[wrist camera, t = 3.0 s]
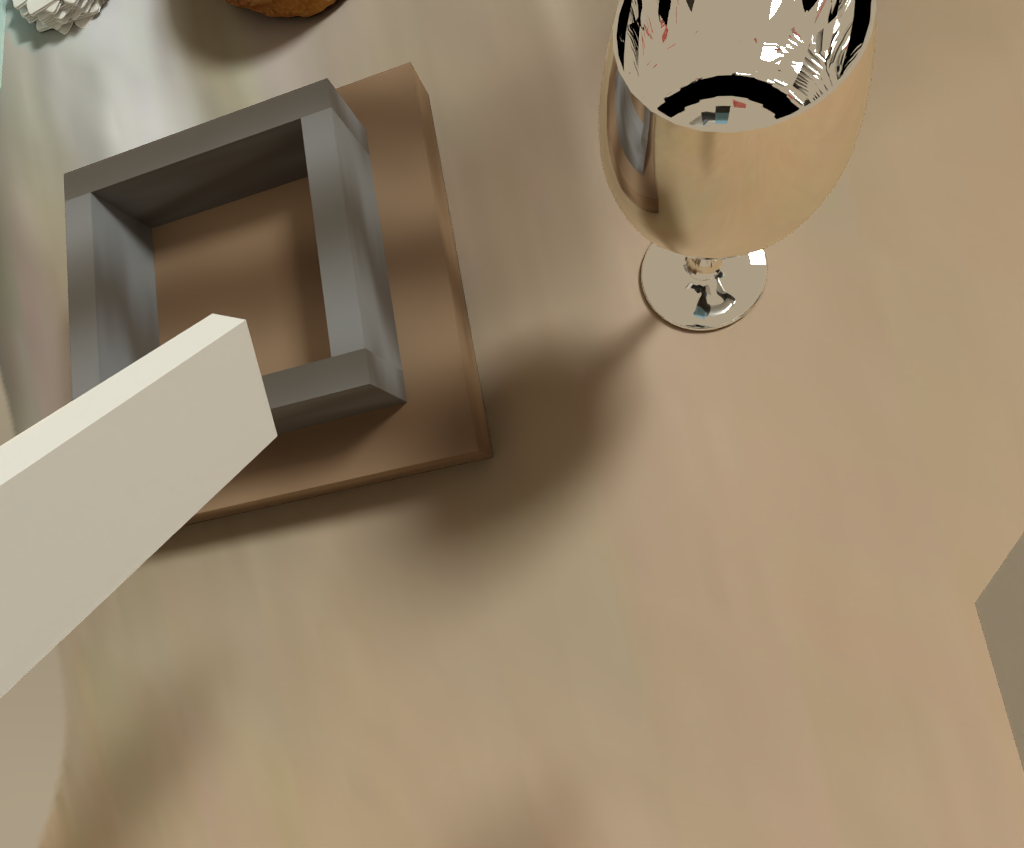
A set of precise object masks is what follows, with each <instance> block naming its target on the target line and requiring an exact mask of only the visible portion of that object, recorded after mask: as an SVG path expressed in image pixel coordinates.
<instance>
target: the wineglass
mask: <svg viewBox="0 0 1024 848" xmlns="http://www.w3.org/2000/svg"><path fill="white" fill-rule="evenodd" d="M876 11H877V8H876V0H620V1H619V4H618V6H617V10H616V14H615V18H614V22H613V26H612V30H611V34H610V38H609V42H608V47H607V52H606V58H605V63H604V70H603V76H602V83H601V92H600V104H599V121H598V124H599V142H600V154H601V160H602V165H603V170H604V173H605V177H606V180H607V183H608V185H609V188H610V190H611V192H612V194H613V197H614V199H615V201H616V203H617V204H618V206H619V208H620V209H621V211H622V213H623V214H624V216H625V217H626V219H627V220H628V222H629V223H630V224H631V225H632V226H633V227H634V228H635V229H636V230H637V231H638V232H639V233H640V234H641V235H643V236H644V237H646V238H647V239H648V240H650V241H651V242H652V243H651V245H650V246H649V248H648V250H647V252H646V254H645V257H644V260H643V263H642V268H641V283H642V290H643V292H644V295H645V297H646V300H647V302H648V303H649V304H650V306H651V307H652V309H653V310H654V311H655V312H656V313H657V314H658V315H659V316H660V317H661V318H662V319H664V320H666V321H667V322H669V323H671V324H672V325H675V326H677V327H680V328H683V329H688V330H693V331H709V330H715V329H719V328H722V327H725V326H727V325H730V324H732V323H734V322H736V321H737V320H739V319H740V318H742V317H744V316H745V315H746V314H747V313H748V312H749V311H750V310H751V309H752V308H753V307H754V306H755V305H756V303H757V302H758V300H759V298H760V297H761V295H762V293H763V291H764V288H765V285H766V281H767V273H768V265H767V259H766V254H765V252H764V249H765V248H767V247H769V246H771V245H773V244H775V243H776V242H778V241H780V240H782V239H784V238H785V237H787V236H788V235H790V234H791V233H792V232H794V231H795V230H796V229H797V228H799V227H800V226H801V225H802V224H803V223H804V222H806V221H807V220H808V219H809V218H810V217H811V216H812V215H813V213H814V212H815V211H816V210H817V209H818V208H819V207H820V206H821V205H822V203H823V202H824V201H825V199H826V198H827V197H828V195H829V194H830V193H831V191H832V190H833V189H834V187H835V186H836V184H837V182H838V181H839V179H840V177H841V176H842V174H843V172H844V170H845V168H846V166H847V164H848V162H849V159H850V157H851V155H852V152H853V150H854V148H855V145H856V141H857V138H858V135H859V131H860V128H861V125H862V121H863V118H864V115H865V111H866V107H867V101H868V95H869V88H870V81H871V75H872V68H873V60H874V53H875V35H876Z"/></svg>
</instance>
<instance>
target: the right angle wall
mask: <svg viewBox="0 0 1024 848" xmlns="http://www.w3.org/2000/svg"><path fill="white" fill-rule="evenodd" d="M12 1H13V6H14V8H16V10H18V9H19V10H20V14H21V16H23V18H25V19H26V20H28V23H32V22H34V21H36V29H37V30H38V31H39V32H42V31H45V30H48V29H52V28H54V29H55V30H57V31H59V32H60V33H62V34H63V35H66V34H67V33H68V32H69V30H70V29H71V27H72V25H73V23H75V25H77V26H78V27H80V28H81V29H85V28H86V27H87V26H88V24H89V23H90V22H91V20H92V19H93V18H94V16H95V15H96V14H98V13H99V12H100V9H101V7H102V5H103V4H104V3H105V1H106V0H12ZM5 15H6V0H0V90H1V77H2V61H3V46H4V30H5ZM74 21H75V22H74Z"/></svg>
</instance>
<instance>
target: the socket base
mask: <svg viewBox="0 0 1024 848" xmlns="http://www.w3.org/2000/svg"><path fill="white" fill-rule="evenodd" d="M64 191H65V218H66V245H67V271H68V298H69V325H70V352H71V378H72V401H73V400H75V399H76V398H78V397H80V396H81V395H83V394H84V393H86V392H88V391H89V390H91V389H92V388H94V387H96V386H97V385H99V384H100V383H102V382H104V381H105V380H107V379H108V378H110V377H112V376H113V375H115V374H116V373H118V372H120V371H121V370H123V369H124V368H126V367H128V366H129V365H131V364H132V363H134V362H136V361H137V360H139V359H140V358H142V357H144V356H145V355H147V354H148V353H150V352H152V351H153V350H155V349H156V348H158V347H160V346H161V345H163V344H164V343H166V342H168V341H169V340H171V339H172V338H174V337H176V336H177V335H179V334H180V333H182V332H184V331H185V330H187V329H188V328H190V327H192V326H193V325H195V324H196V323H198V322H200V321H201V320H203V319H204V318H206V317H208V316H209V315H211V314H218V315H223V316H228V317H234V318H239V319H245V320H246V322H247V325H248V329H249V333H250V337H251V340H252V344H253V348H254V351H255V355H256V359H257V362H258V366H259V370H260V373H261V377H262V381H263V384H264V388H265V392H266V395H267V399H268V403H269V406H270V410H271V414H272V417H273V421H274V425H275V428H276V432H277V437H276V438H275V439H274V440H273V441H272V442H271V443H270V444H269V445H268V446H267V447H265V448H264V449H263V450H262V451H261V452H260V453H259V454H258V455H257V456H256V457H255V458H254V459H253V460H252V461H251V462H250V463H249V464H248V465H246V466H245V467H244V468H243V469H242V470H241V471H240V472H239V473H238V474H237V475H236V476H235V477H234V478H233V479H232V480H231V481H230V482H228V483H227V484H226V485H225V486H224V487H223V488H222V489H221V490H220V491H219V492H218V493H217V494H216V495H215V496H214V497H213V498H212V499H211V500H209V501H208V502H207V503H206V504H205V505H204V506H203V507H202V508H201V509H200V510H199V511H198V512H197V513H196V514H195V515H194V516H193V517H191V518H190V519H189V520H188V521H187V522H186V523H185V524H184V525H188V524H193V523H197V522H202V521H206V520H211V519H215V518H220V517H224V516H229V515H233V514H238V513H242V512H247V511H251V510H256V509H260V508H265V507H269V506H274V505H278V504H283V503H287V502H292V501H297V500H301V499H306V498H310V497H315V496H319V495H324V494H328V493H333V492H337V491H342V490H346V489H351V488H355V487H360V486H364V485H369V484H373V483H378V482H382V481H387V480H391V479H396V478H400V477H405V476H409V475H414V474H418V473H423V472H427V471H432V470H436V469H441V468H445V467H450V466H454V465H459V464H463V463H468V462H472V461H477V460H481V459H486V458H490V457H493V454H492V448H491V442H490V437H489V431H488V426H487V420H486V414H485V409H484V403H483V398H482V392H481V386H480V381H479V375H478V370H477V364H476V358H475V353H474V347H473V342H472V336H471V330H470V325H469V319H468V314H467V308H466V302H465V297H464V291H463V285H462V280H461V274H460V269H459V263H458V257H457V252H456V246H455V241H454V235H453V229H452V224H451V218H450V213H449V207H448V201H447V196H446V190H445V185H444V179H443V173H442V168H441V162H440V157H439V151H438V145H437V140H436V134H435V129H434V123H433V117H432V112H431V106H430V100H429V95H428V93H427V91H426V90H425V88H424V86H423V84H422V82H421V80H420V78H419V77H418V75H417V73H416V71H415V69H414V67H413V66H412V64H411V62H409V63H406V64H404V65H401V66H398V67H395V68H393V69H390V70H387V71H384V72H381V73H379V74H376V75H373V76H370V77H367V78H365V79H362V80H359V81H356V82H354V83H351V84H348V85H345V86H342V87H340V88H337V89H335V88H334V87H333V85H332V84H331V83H330V81H329V80H328V79H327V78H326V79H324V80H321V81H318V82H315V83H313V84H310V85H307V86H304V87H302V88H299V89H296V90H293V91H291V92H288V93H285V94H282V95H280V96H277V97H274V98H271V99H269V100H266V101H263V102H260V103H258V104H255V105H252V106H249V107H247V108H244V109H241V110H238V111H236V112H233V113H230V114H227V115H225V116H222V117H219V118H216V119H214V120H211V121H208V122H205V123H203V124H200V125H197V126H195V127H192V128H189V129H186V130H184V131H181V132H178V133H175V134H173V135H170V136H167V137H164V138H162V139H159V140H156V141H153V142H151V143H148V144H145V145H142V146H140V147H137V148H134V149H131V150H129V151H126V152H123V153H120V154H118V155H115V156H112V157H109V158H107V159H104V160H101V161H98V162H96V163H93V164H90V165H87V166H85V167H82V168H79V169H76V170H74V171H71V172H68V173H65V174H64ZM184 525H183V526H184Z"/></svg>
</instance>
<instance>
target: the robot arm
mask: <svg viewBox="0 0 1024 848" xmlns="http://www.w3.org/2000/svg"><path fill="white" fill-rule="evenodd" d="M276 437H277V432H276V428H275V425H274V421H273V417H272V414H271V410H270V406H269V403H268V399H267V395H266V392H265V388H264V384H263V381H262V377H261V373H260V370H259V366H258V362H257V359H256V355H255V351H254V348H253V344H252V340H251V337H250V333H249V329H248V325H247V322H246V320H245V319H239V318H234V317H228V316H223V315H218V314H211V315H209V316H208V317H206V318H204V319H203V320H201V321H200V322H198V323H196V324H195V325H193V326H192V327H190V328H188V329H187V330H185V331H184V332H182V333H180V334H179V335H177V336H176V337H174V338H172V339H171V340H169V341H168V342H166V343H164V344H163V345H161V346H160V347H158V348H156V349H155V350H153V351H152V352H150V353H148V354H147V355H145V356H144V357H142V358H140V359H139V360H137V361H136V362H134V363H132V364H131V365H129V366H128V367H126V368H124V369H123V370H121V371H120V372H118V373H116V374H115V375H113V376H112V377H110V378H108V379H107V380H105V381H104V382H102V383H100V384H99V385H97V386H96V387H94V388H92V389H91V390H89V391H88V392H86V393H84V394H83V395H81V396H80V397H78V398H76V399H75V400H73V401H72V402H70V403H68V404H67V405H65V406H64V407H62V408H60V409H59V410H57V411H56V412H54V413H52V414H51V415H49V416H48V417H46V418H44V419H43V420H41V421H40V422H38V423H36V424H35V425H33V426H32V427H30V428H28V429H27V430H25V431H24V432H22V433H20V434H19V435H17V436H16V437H14V438H12V439H11V440H9V441H8V442H6V443H4V444H3V445H1V446H0V698H1V697H2V696H3V695H4V694H5V693H7V692H8V691H9V690H10V689H11V688H12V687H13V686H14V685H15V684H16V683H17V682H18V681H19V680H20V679H21V678H22V677H23V676H25V674H27V673H28V672H29V671H30V670H31V669H32V668H33V667H34V666H35V665H36V664H37V663H38V662H39V661H40V660H41V659H42V658H44V656H46V655H47V654H48V653H49V652H50V651H51V650H52V649H53V648H54V647H55V646H56V645H57V644H58V643H59V642H60V641H61V640H63V639H64V638H65V637H66V636H67V635H68V634H69V633H70V632H71V631H72V630H73V629H74V628H75V627H76V626H77V625H78V624H79V623H81V622H82V621H83V620H84V619H85V618H86V617H87V616H88V615H89V614H90V613H91V612H92V611H93V610H94V609H95V608H96V607H97V606H98V605H100V604H101V603H102V602H103V601H104V600H105V599H106V598H107V597H108V596H109V595H110V594H111V593H112V592H113V591H114V590H115V589H116V588H118V587H119V586H120V585H121V584H122V583H123V582H124V581H125V580H126V579H127V578H128V577H129V576H130V575H131V574H132V573H133V572H134V571H135V570H137V569H138V568H139V567H140V566H141V565H142V564H143V563H144V562H145V561H146V560H147V559H148V558H149V557H150V556H151V555H152V554H153V553H155V552H156V551H157V550H158V549H159V548H160V547H161V546H162V545H163V544H164V543H165V542H166V541H167V540H168V539H169V538H170V537H171V536H172V535H174V534H175V533H176V532H177V531H178V530H179V529H180V528H181V527H182V526H183V525H184V524H185V523H186V522H187V521H188V520H189V519H190V518H191V517H193V516H194V515H195V514H196V513H197V512H198V511H199V510H200V509H201V508H202V507H203V506H204V505H205V504H206V503H207V502H208V501H209V500H211V499H212V498H213V497H214V496H215V495H216V494H217V493H218V492H219V491H220V490H221V489H222V488H223V487H224V486H225V485H226V484H227V483H228V482H230V481H231V480H232V479H233V478H234V477H235V476H236V475H237V474H238V473H239V472H240V471H241V470H242V469H243V468H244V467H245V466H246V465H248V464H249V463H250V462H251V461H252V460H253V459H254V458H255V457H256V456H257V455H258V454H259V453H260V452H261V451H262V450H263V449H264V448H265V447H267V446H268V445H269V444H270V443H271V442H272V441H273V440H274V439H275V438H276ZM975 606H976V609H977V613H978V616H979V619H980V623H981V626H982V630H983V633H984V637H985V640H986V644H987V647H988V650H989V654H990V657H991V661H992V664H993V668H994V671H995V674H996V678H997V681H998V685H999V688H1000V692H1001V695H1002V698H1003V702H1004V705H1005V709H1006V712H1007V716H1008V719H1009V722H1010V726H1011V729H1012V733H1013V736H1014V740H1015V743H1016V746H1017V750H1018V753H1019V757H1020V760H1021V764H1022V767H1023V770H1024V533H1023V534H1022V536H1021V537H1020V539H1019V540H1018V542H1017V543H1016V545H1015V546H1014V547H1013V549H1012V550H1011V552H1010V553H1009V555H1008V556H1007V558H1006V559H1005V560H1004V562H1003V563H1002V565H1001V566H1000V568H999V569H998V571H997V572H996V573H995V575H994V576H993V578H992V579H991V581H990V582H989V584H988V585H987V586H986V588H985V589H984V591H983V592H982V594H981V595H980V597H979V598H978V600H977V601H976V602H975Z"/></svg>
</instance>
